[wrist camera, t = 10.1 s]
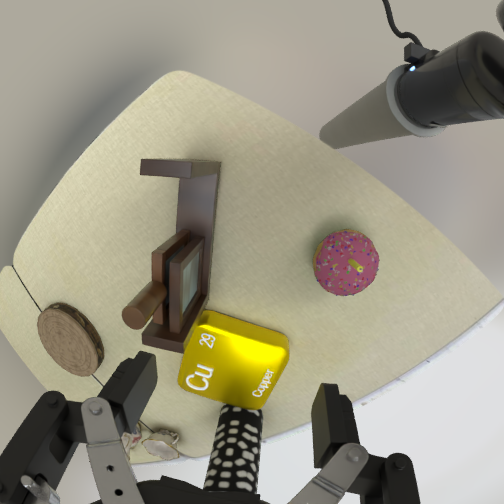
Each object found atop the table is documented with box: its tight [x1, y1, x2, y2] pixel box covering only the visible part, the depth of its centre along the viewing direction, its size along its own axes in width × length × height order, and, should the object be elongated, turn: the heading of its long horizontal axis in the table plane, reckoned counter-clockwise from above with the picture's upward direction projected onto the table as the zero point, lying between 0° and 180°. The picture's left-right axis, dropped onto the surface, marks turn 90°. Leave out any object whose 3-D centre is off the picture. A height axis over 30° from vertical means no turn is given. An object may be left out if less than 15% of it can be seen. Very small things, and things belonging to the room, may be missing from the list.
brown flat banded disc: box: [37, 303, 104, 377], centre depth 47 cm, size 16×16×3 cm
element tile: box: [178, 310, 289, 410], centre depth 43 cm, size 15×15×5 cm
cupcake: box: [313, 229, 380, 296], centre depth 33 cm, size 9×8×12 cm
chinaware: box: [89, 422, 179, 462], centre depth 49 cm, size 28×17×17 cm, turn 126°
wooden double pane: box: [140, 159, 221, 354], centre depth 33 cm, size 20×5×14 cm, turn 173°
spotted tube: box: [203, 404, 263, 494], centre depth 40 cm, size 8×8×20 cm
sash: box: [122, 230, 190, 330], centre depth 31 cm, size 8×2×16 cm, turn 173°
